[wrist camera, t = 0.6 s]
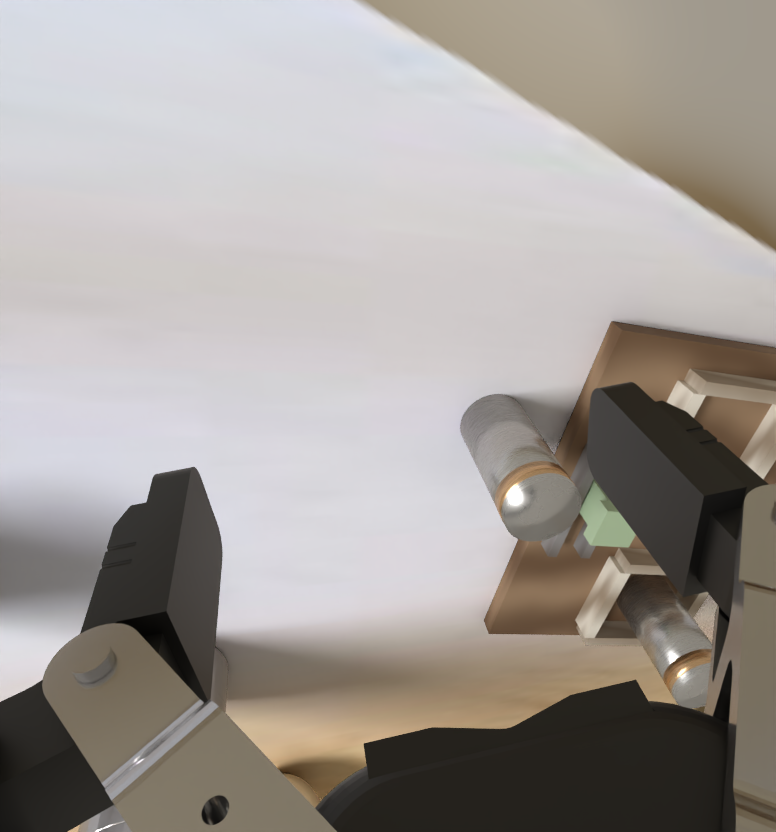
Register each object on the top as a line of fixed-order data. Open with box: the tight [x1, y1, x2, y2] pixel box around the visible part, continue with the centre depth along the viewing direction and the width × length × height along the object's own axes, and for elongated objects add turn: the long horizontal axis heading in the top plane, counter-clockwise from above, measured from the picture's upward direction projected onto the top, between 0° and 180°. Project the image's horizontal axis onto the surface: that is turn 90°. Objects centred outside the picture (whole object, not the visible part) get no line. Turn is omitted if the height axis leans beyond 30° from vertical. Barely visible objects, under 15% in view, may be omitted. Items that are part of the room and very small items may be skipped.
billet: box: [460, 394, 582, 541], centre depth 41 cm, size 5×5×10 cm
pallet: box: [484, 321, 776, 646], centre depth 51 cm, size 30×20×4 cm, turn 167°
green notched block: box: [580, 479, 636, 548], centre depth 46 cm, size 3×3×5 cm
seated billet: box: [615, 574, 712, 708], centre depth 52 cm, size 5×5×10 cm
